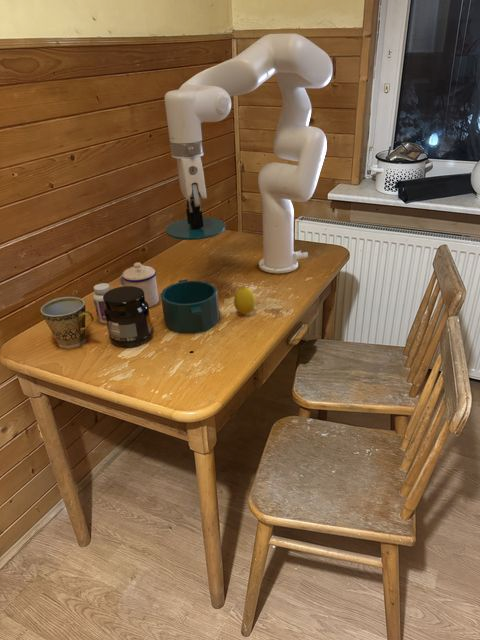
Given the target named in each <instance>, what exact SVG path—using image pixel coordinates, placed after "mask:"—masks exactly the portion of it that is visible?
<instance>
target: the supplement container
mask: <svg viewBox="0 0 480 640" xmlns="http://www.w3.org/2000/svg"><path fill="white" fill-rule="evenodd" d="M103 300H104V305H105V307H104V315H105V318H106V322H107V323H106V327H107V331H108V337H109V340H110V342H111V343H112V344H114V345H115V346H117V347H118V346H119V347H122V348H131V347H132V348H133V347H137V346H139V345H142V344H144V343H146V342H148V341H149V339H151V337H152V336H153V328H152V321H151V315H150V310H149V308H150V307H149V306H148V303H147V301H146V300H145V295H144V291H143V290H142V289H141V288H139V287H135V286H123V287H121V286H118V287H115V288H112V289H111V288H110V290H109V291H108V292H106V293H105V294H104V296H103Z"/></svg>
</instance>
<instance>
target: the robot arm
mask: <svg viewBox="0 0 480 640" xmlns="http://www.w3.org/2000/svg"><path fill="white" fill-rule="evenodd" d="M333 69H334V68H333V62H332V59H331V57H330V55H329V54H328V53H327V52H326V51H324V50H323V49H322V48H321V47H319V46H318V45H317V44H315V43H314V42H313V41H311V40H309V39H308V38H306V37H305V36H303V35H301V34H298V33H295V32H293V33H269V34H265V35H264V36H262V37H260V38H259V39H258V40H256V41H255V42H253V43H252V44H251V45H250V46H248V47H247V48H245V49H244V50H243V51H241V52H240V53H239V54H236V56H234V57H232V58H229V59H228V60H224V61H223V62H220V63H218V64H216V65H213V66H210V67H209V68H206V69H204V70H202V71H199V72H198V73H196V74H194V75H193V76H192V77H191V78H189V79H188V80H186V81H185V82H184V83H183V84H181V85H180V87H179V88H178V89H174V90H170V91H167V92H166V93H165V94H164V108H165V115H166V121H167V130H168V137H169V138H168V139H169V146H170V154H171V158H172V159H176V166H177V174H178V180H179V187H180V192H181V194H182V197H184V200H185V207H186V208H185V211H186V219H187V220H188V224H190V227H191V228H192V229H193V228H200V227H203V217H204V216H203V211H202V204H201V199H203V200H204V201H205V200H207V198H208V195H207V188H206V179H205V172H204V167H203V161H202V157H204V155H205V154H204V144H203V133H202V123H218V122H220V121H223V120H225V119H226V118H227V117H228V116H229V115H230V112H231V110H232V99H231V98H232V97H238V96H242V95H245V94H249V93H252V92H253V91H255V90H256V89H258V88H259V87H260V86H262V84H263V83H265V82H266V81H267V80H269V79H270V78H271V77H273V76H274V77H275V80H276V82H277V85H278V88H279V90H280V91H279V92H280V94H281V100H282V101H281V103H282V105H281V110H280V115H279V118H278V122H277V126H276V129H275V133H274V137H273V141H272V151H273V154H274V155H275V157H277V158H280V159H282V160H286V161H292V162H298V164H297V165H295V164H288V163H282V162H268V163H265V164H264V165H262V167H261V169H260V170H259V172H258V176H257V185H258V190H259V194H260V201H261V210H262V211H261V212H262V213H261V214H262V215H261V216H262V249H263V251H262V252H263V253H262V256H263V257H262V259H260V260H259V262H258V268H259V269H260V270H261V271H263V272H265V273H269V274H287V273H291V272H294V271H295V270H297V269H298V268H299V260H301V259H302V260H303V259H308V258H309V253H308V252H307V251H306V252H305V251H304V252H302V250H298V251H295V250H294V239H295V238H294V231H295V230H294V224H295V223H294V222H295V221H294V220H295V212H294V206H293V203H292V201H293V202H299V203H304V202H307V201H309V200H310V199H311V198H312V197H313V195H314V193H315V191H316V189H317V185H318V181H319V177H320V174H321V171H322V167H323V164H324V160H325V156H326V154H327V147H328V146H327V137H326V133H325V132H324V131H323V130H322V129H321V128H319V127H317V126H310V125H309V124H310V120H311V115H312V103H311V100H310V97H309V94H308V92H307V90H306V89H322V88H324V87H326V86H327V85H328V84H329V83H330V81H331V79H332V76H333V71H334V70H333ZM188 208H189V209H190V212H189V209H188Z"/></svg>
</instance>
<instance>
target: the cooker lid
mask: <svg viewBox="0 0 480 640" xmlns="http://www.w3.org/2000/svg"><path fill="white" fill-rule="evenodd" d="M188 209H189V208H188ZM189 212H190V209H189ZM202 217H203V227H200V228H193V229H192V228H191V227H190V224H188V220H187V218H183V219H179V220H177V221H174V222H172V223H170V224H168V225H167V226H166V228H165V234H166V235H167V236H168V237H170V238H173V239H175V240H182V241H198V240H205V239H210V238H213V237H216V236H219V235H221V234H222V233H223V232H224V231H226V228H227V227H226V222H224V221H223V220H221V219H218V218H214V217H208V216H207V217H206V216H202Z"/></svg>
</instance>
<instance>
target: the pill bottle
mask: <svg viewBox="0 0 480 640" xmlns="http://www.w3.org/2000/svg"><path fill="white" fill-rule="evenodd" d="M109 290H111V287H110V284H109V283H105V282H101V283H98V284H95V285H94V286H93V292H94V294H93V295H92V296H93V297H92V300H93V305H94V308H95V313H96V317H97V320H98V322H99V323H101V324H106V325H107V322H106V318H105V315H104V307H105V305H104V300H103V296H104V294H105V293H106V292H108V291H109Z"/></svg>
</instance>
